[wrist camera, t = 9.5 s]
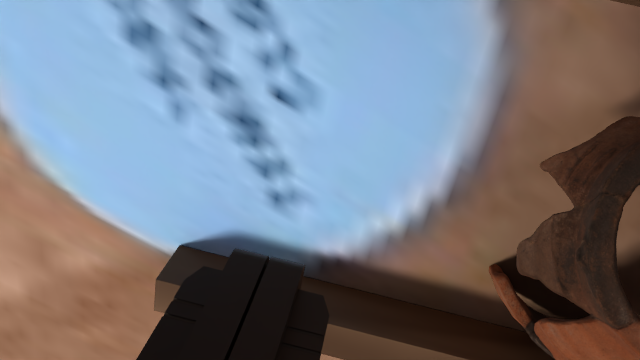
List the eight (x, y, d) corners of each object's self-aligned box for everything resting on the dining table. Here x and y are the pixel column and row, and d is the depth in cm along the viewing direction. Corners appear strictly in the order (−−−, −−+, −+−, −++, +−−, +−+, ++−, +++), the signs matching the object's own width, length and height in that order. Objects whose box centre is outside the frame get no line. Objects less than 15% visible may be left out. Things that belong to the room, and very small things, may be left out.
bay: (213, -152, 17) (160, -165, 14) (1081, 33, 16) (1269, 70, 12) (177, 274, 25) (137, 335, 22) (761, 423, 24) (820, 514, 20)
